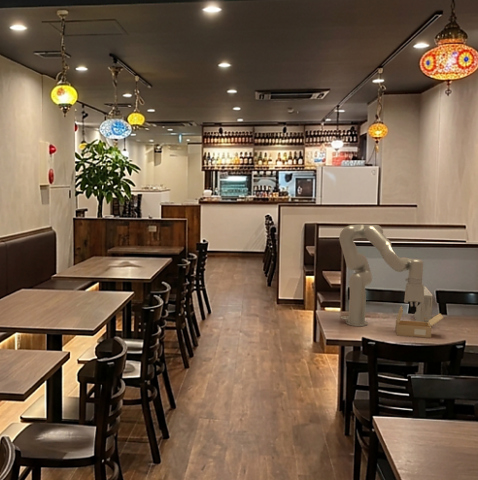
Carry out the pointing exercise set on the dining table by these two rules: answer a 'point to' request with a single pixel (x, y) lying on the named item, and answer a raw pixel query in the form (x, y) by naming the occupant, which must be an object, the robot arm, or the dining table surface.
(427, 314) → the packaging
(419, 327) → the carton
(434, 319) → the flap
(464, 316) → the dining table surface
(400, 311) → the flap
